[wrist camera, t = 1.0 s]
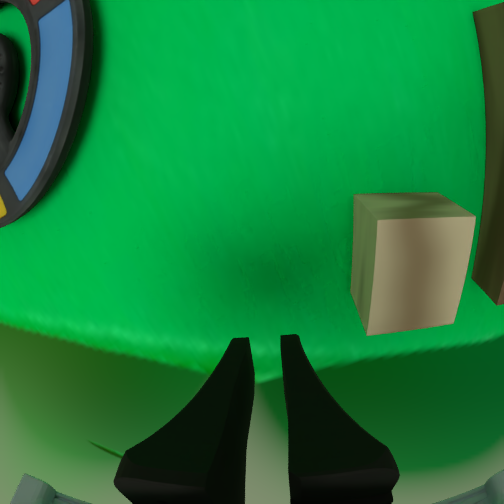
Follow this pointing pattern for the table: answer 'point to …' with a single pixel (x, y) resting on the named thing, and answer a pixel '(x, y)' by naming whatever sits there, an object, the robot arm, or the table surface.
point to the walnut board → (492, 154)
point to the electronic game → (43, 100)
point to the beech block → (408, 260)
